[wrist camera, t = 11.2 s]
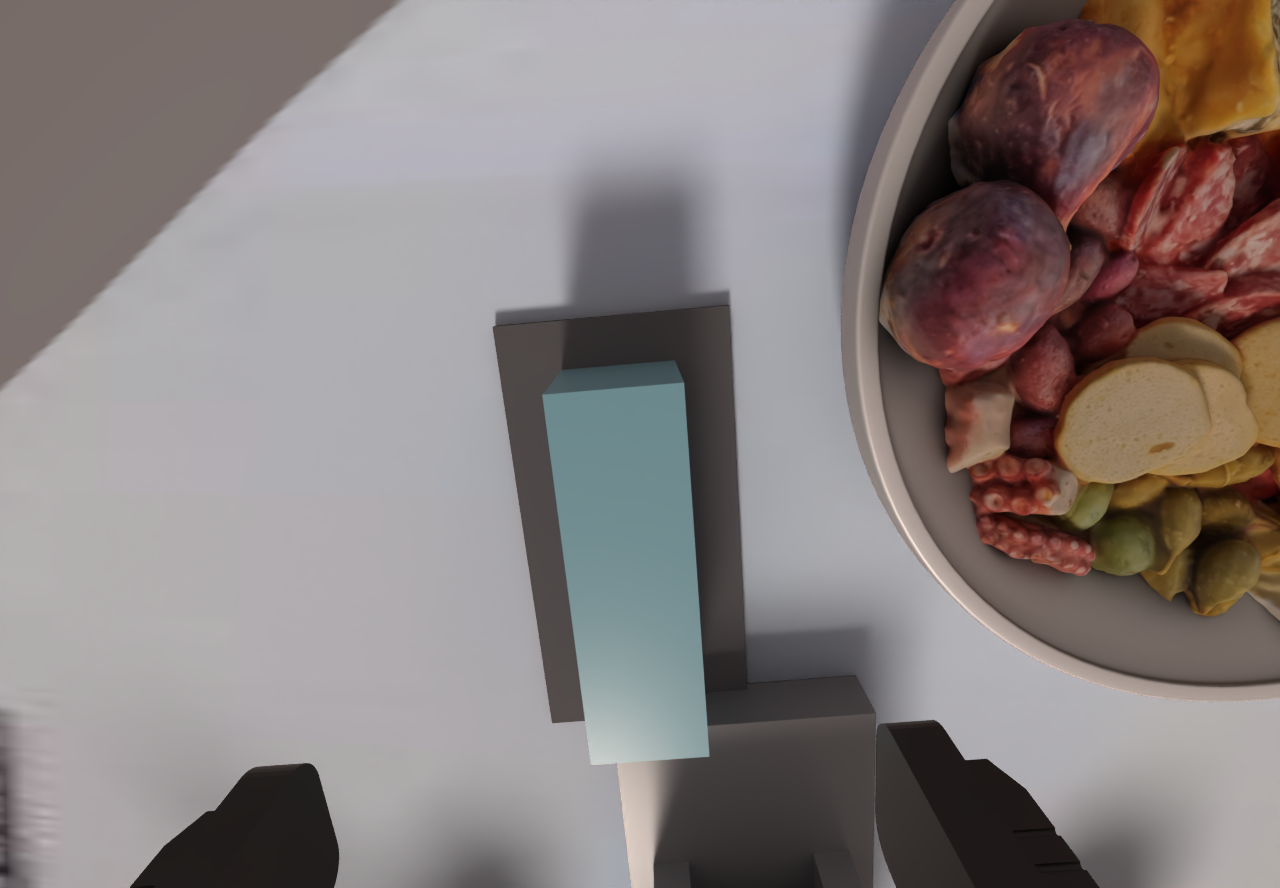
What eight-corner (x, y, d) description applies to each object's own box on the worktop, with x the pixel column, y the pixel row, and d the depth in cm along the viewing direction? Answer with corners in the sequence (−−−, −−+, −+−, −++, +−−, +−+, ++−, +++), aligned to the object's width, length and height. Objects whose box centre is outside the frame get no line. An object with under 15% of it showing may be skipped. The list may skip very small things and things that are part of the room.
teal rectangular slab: (674, 360, 24) (684, 382, 19) (696, 671, 28) (709, 756, 23) (561, 370, 24) (542, 394, 19) (599, 679, 28) (590, 765, 23)
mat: (727, 305, 24) (729, 305, 23) (746, 702, 28) (748, 708, 28) (494, 326, 24) (492, 326, 23) (553, 716, 29) (552, 723, 28)
